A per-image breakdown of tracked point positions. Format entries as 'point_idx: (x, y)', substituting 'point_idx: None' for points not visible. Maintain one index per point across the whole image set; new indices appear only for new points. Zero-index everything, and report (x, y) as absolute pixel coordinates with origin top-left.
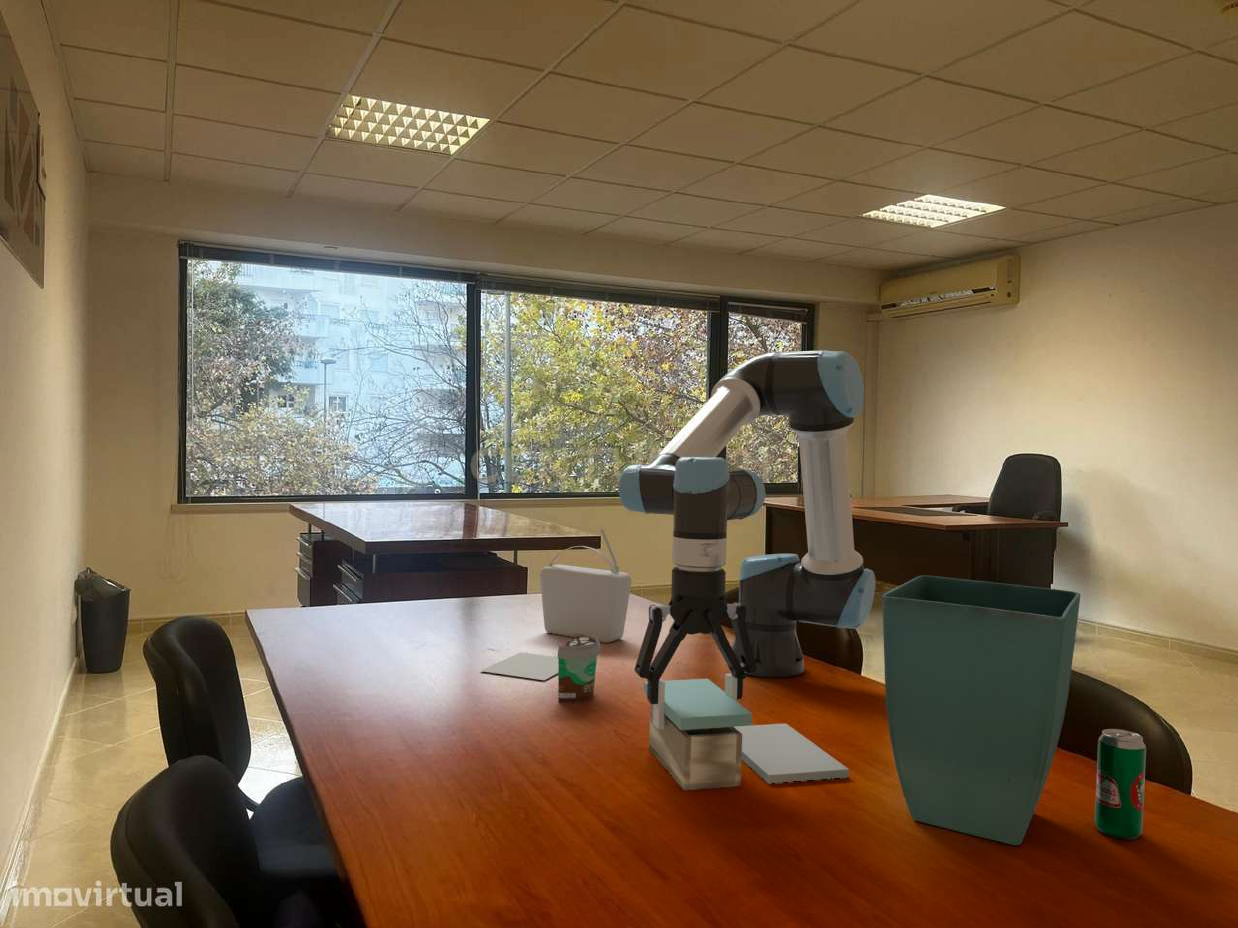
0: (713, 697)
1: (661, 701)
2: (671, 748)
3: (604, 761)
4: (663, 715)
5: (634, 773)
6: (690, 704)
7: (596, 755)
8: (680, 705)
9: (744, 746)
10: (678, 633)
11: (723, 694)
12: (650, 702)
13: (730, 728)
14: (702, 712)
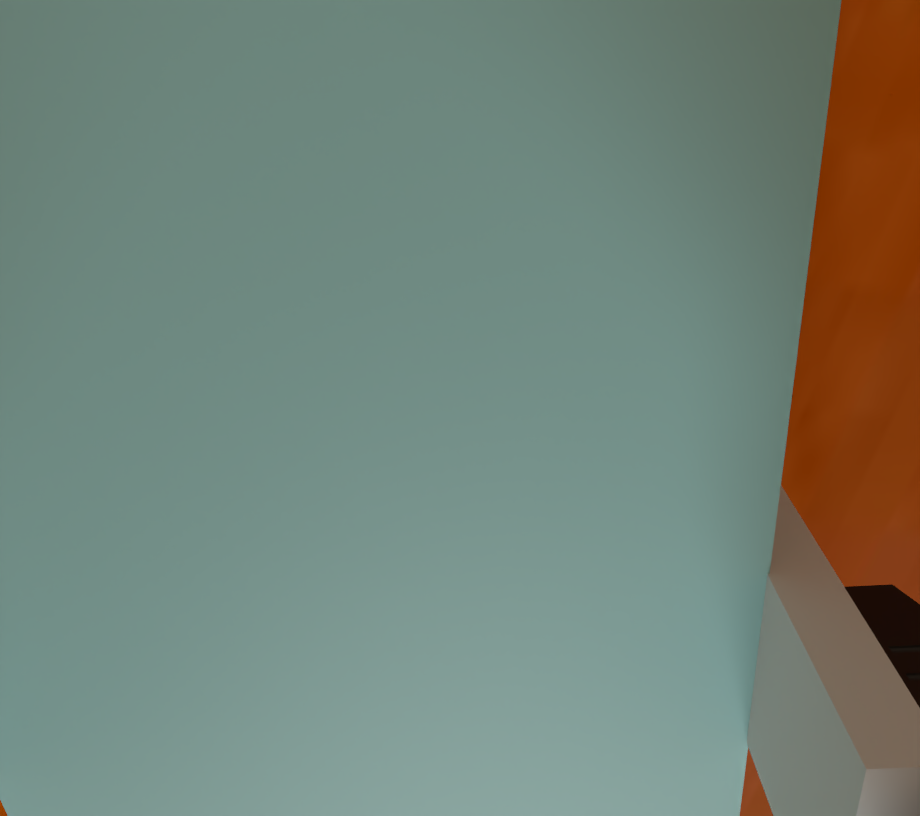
0: (139, 641)
1: (808, 572)
2: None
3: (908, 479)
4: None
5: (810, 284)
6: (484, 442)
7: (913, 561)
8: (626, 423)
9: None
10: None
11: (11, 716)
12: (905, 601)
13: None
14: (413, 77)
